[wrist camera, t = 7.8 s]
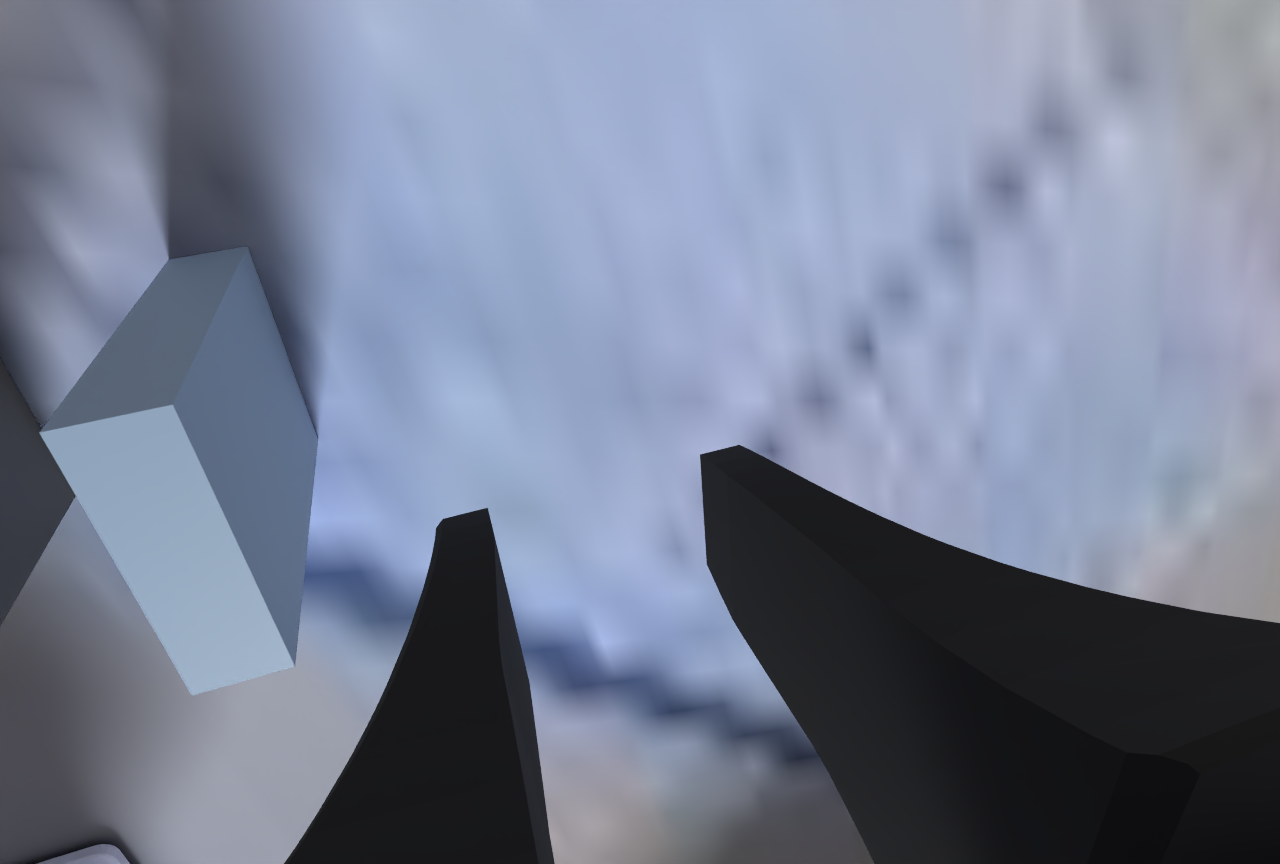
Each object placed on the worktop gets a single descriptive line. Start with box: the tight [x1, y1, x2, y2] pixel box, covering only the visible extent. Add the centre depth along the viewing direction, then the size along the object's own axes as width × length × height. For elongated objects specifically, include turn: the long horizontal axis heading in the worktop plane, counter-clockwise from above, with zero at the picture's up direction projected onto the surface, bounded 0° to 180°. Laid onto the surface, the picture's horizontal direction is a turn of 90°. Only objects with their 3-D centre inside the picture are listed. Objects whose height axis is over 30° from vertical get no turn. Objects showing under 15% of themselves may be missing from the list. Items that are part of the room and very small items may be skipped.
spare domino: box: [39, 246, 318, 696], centre depth 15 cm, size 5×2×8 cm, turn 6°
